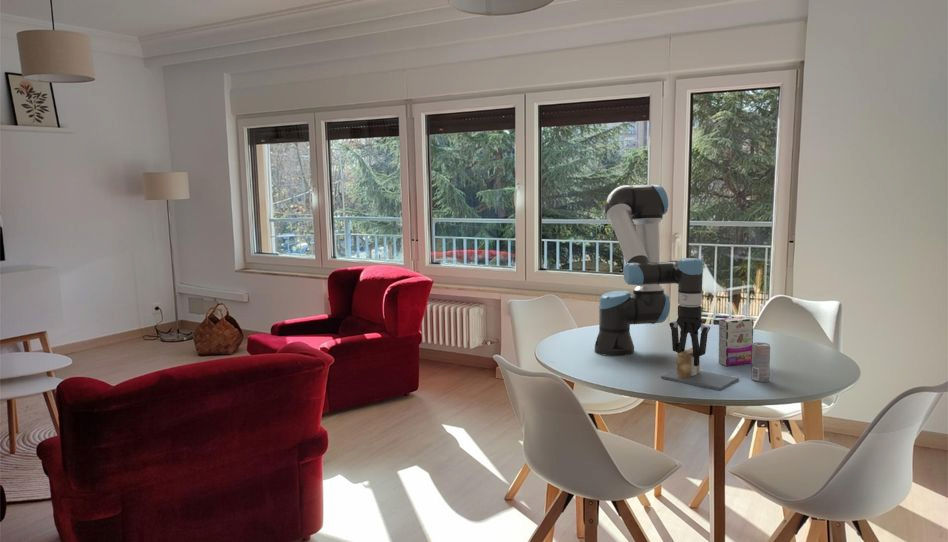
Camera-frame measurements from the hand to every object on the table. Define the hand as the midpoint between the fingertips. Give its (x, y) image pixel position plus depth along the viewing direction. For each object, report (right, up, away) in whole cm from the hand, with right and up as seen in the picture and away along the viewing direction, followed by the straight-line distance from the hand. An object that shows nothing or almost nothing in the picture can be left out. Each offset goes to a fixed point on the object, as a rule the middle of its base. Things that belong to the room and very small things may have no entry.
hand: (688, 373), depth 210 cm
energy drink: (+22, -1, -5) cm, 23 cm away
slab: (0, 0, 0) cm, 0 cm away
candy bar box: (+22, +1, +15) cm, 27 cm away
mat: (+3, -1, -2) cm, 4 cm away
